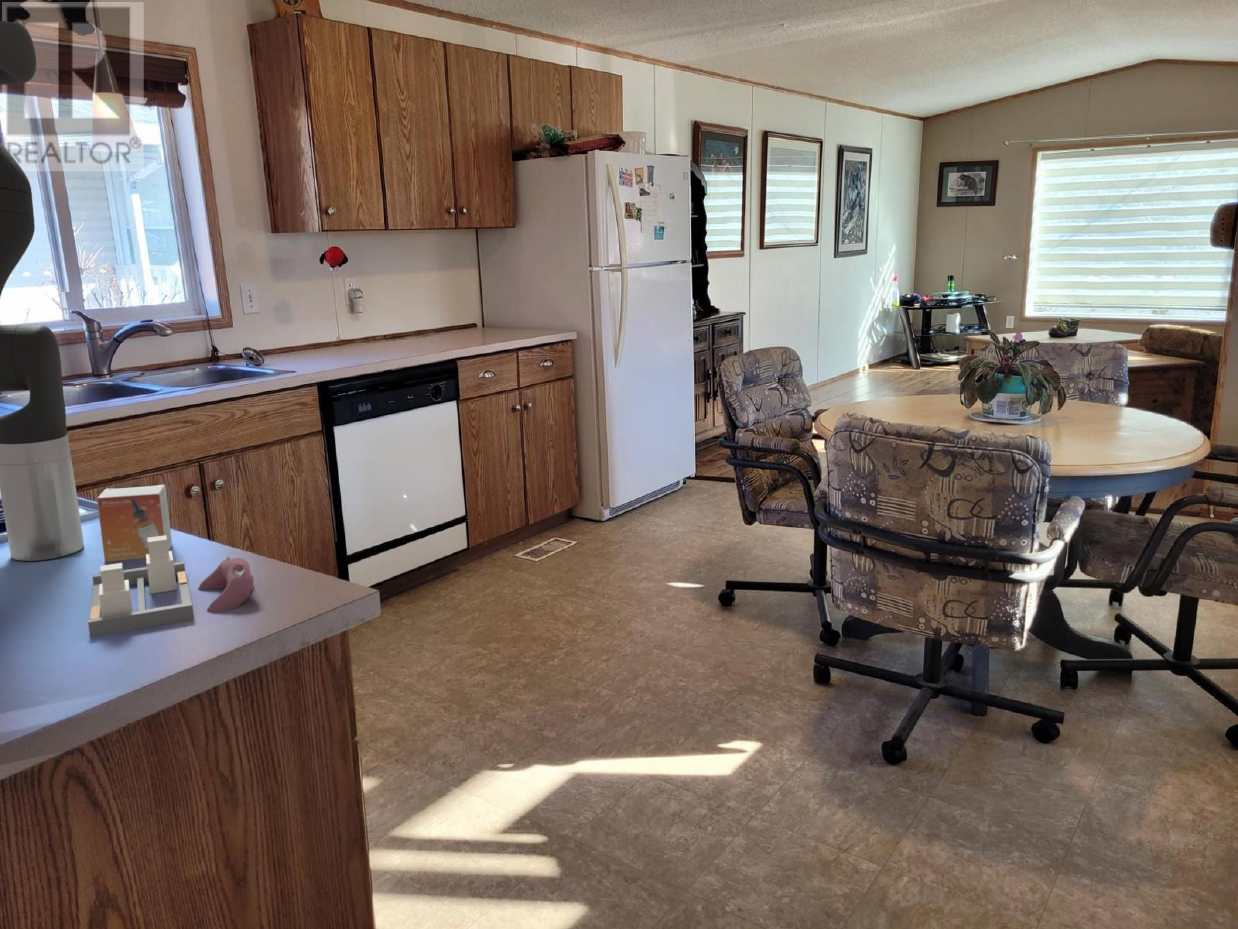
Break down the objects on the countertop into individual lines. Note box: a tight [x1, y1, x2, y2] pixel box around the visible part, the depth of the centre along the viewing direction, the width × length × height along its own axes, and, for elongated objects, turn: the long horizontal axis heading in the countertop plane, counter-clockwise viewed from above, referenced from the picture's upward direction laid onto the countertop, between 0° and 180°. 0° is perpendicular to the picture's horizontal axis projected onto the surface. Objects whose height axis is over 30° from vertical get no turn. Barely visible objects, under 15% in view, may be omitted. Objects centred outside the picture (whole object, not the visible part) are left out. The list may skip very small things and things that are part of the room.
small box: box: [96, 484, 173, 563], centre depth 128 cm, size 8×6×10 cm
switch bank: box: [87, 561, 195, 637], centre depth 110 cm, size 20×11×3 cm, turn 28°
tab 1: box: [99, 562, 134, 617], centre depth 105 cm, size 4×3×6 cm
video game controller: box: [198, 556, 256, 613], centre depth 113 cm, size 10×5×7 cm, turn 31°
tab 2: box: [145, 535, 178, 594], centre depth 115 cm, size 4×3×6 cm
